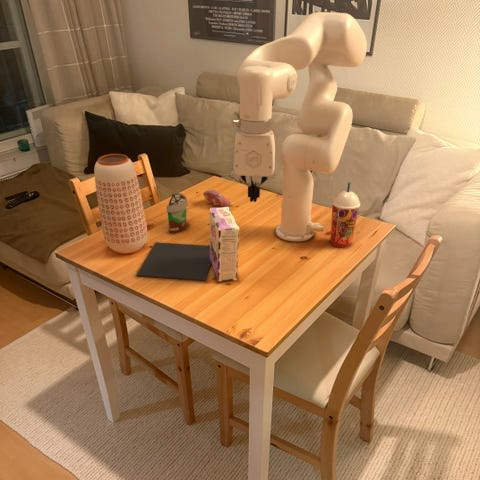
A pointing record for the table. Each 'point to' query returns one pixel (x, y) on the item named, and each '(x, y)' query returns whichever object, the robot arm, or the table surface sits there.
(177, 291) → the table surface
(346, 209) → the smoothie
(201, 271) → the placemat
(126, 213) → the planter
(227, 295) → the table surface
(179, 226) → the food container
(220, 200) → the sweet potato
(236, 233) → the candy box
